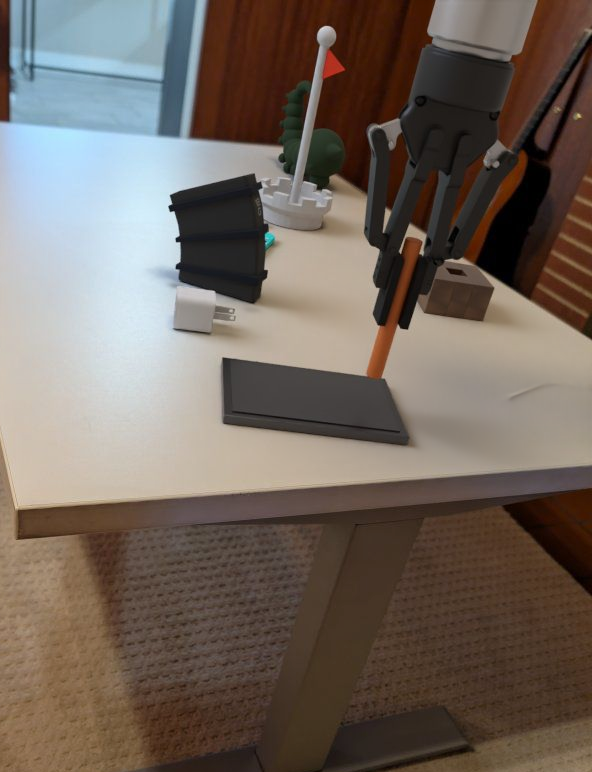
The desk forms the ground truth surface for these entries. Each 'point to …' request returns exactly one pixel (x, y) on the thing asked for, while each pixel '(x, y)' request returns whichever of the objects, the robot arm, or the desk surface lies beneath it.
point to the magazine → (222, 236)
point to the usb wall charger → (198, 310)
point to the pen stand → (458, 292)
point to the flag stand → (303, 160)
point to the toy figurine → (323, 146)
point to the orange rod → (394, 309)
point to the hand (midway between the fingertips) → (390, 321)
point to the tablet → (309, 401)
